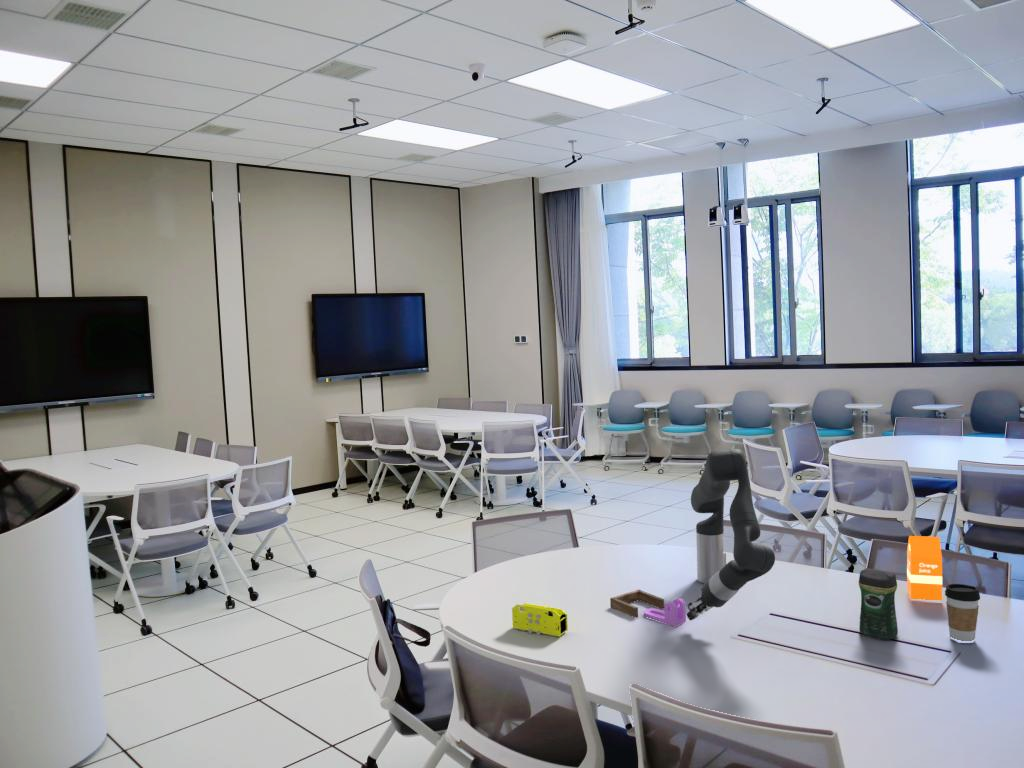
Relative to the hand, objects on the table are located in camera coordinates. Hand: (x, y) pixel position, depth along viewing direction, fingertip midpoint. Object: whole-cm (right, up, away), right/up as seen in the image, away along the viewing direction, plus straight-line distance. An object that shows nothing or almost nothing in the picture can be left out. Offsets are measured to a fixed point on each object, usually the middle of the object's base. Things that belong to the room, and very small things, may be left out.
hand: (689, 617), depth 227 cm
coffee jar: (+51, -2, -9) cm, 52 cm away
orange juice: (+78, +1, +17) cm, 80 cm away
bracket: (-6, -4, +9) cm, 12 cm away
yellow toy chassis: (-44, -6, +4) cm, 45 cm away
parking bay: (-12, -3, +19) cm, 23 cm away
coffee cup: (+72, -2, -14) cm, 73 cm away
